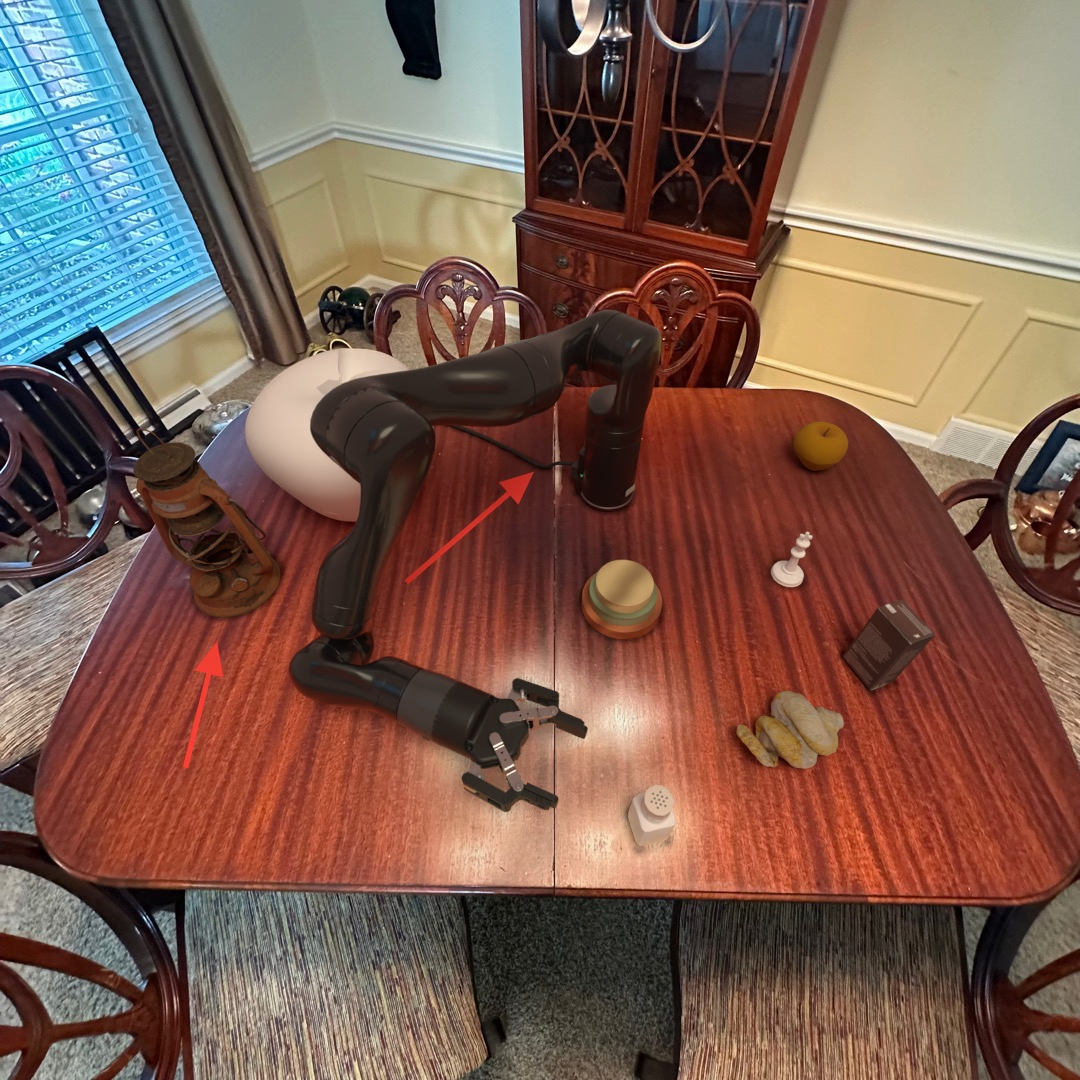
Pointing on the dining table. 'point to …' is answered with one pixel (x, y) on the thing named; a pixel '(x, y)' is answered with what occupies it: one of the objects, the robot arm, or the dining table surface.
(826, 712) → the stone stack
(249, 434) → the pale giant fruit
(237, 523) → the lantern
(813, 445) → the apple
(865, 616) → the dining table surface
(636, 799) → the pepper shaker
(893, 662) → the box
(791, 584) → the chess piece
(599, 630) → the ring stack
